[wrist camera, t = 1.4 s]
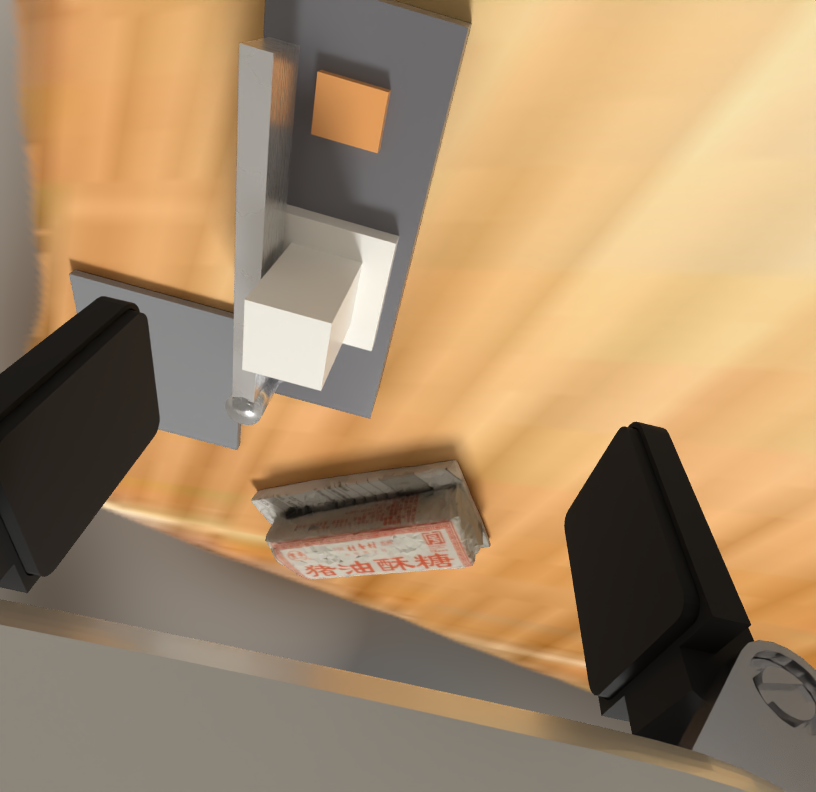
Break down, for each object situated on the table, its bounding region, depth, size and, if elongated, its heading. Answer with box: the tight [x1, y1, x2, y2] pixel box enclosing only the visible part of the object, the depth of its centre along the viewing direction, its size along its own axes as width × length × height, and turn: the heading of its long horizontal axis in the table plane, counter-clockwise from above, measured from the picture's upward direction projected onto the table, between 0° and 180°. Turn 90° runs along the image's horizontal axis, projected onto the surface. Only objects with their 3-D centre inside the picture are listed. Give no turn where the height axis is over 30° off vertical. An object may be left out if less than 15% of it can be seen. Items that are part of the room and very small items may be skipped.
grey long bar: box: [225, 37, 300, 425], centre depth 25 cm, size 18×2×3 cm, turn 167°
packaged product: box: [251, 460, 491, 579], centre depth 42 cm, size 18×5×10 cm
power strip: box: [264, 0, 471, 419], centre depth 27 cm, size 21×8×4 cm, turn 167°
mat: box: [69, 270, 241, 450], centre depth 37 cm, size 12×11×1 cm
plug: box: [242, 204, 399, 391], centre depth 26 cm, size 6×6×10 cm
